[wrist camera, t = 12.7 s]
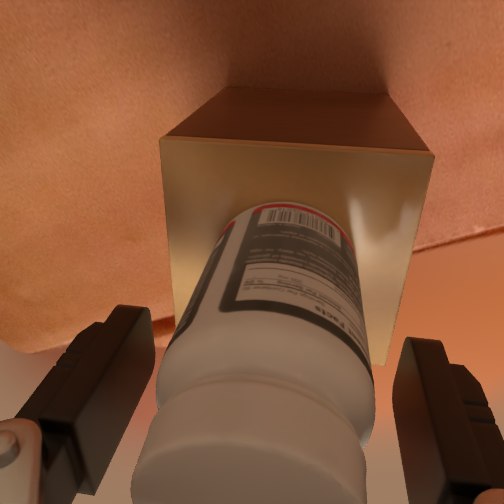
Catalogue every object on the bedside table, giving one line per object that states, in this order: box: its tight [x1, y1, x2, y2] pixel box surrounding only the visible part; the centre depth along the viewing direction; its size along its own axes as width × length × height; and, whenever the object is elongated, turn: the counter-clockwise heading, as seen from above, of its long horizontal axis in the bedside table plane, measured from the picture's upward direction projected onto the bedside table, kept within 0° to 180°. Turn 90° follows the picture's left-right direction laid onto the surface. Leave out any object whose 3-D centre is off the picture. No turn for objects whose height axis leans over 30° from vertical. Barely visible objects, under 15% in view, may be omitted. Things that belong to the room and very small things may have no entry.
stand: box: [159, 87, 435, 366], centre depth 19 cm, size 8×8×10 cm
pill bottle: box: [131, 202, 375, 504], centre depth 11 cm, size 5×5×8 cm
